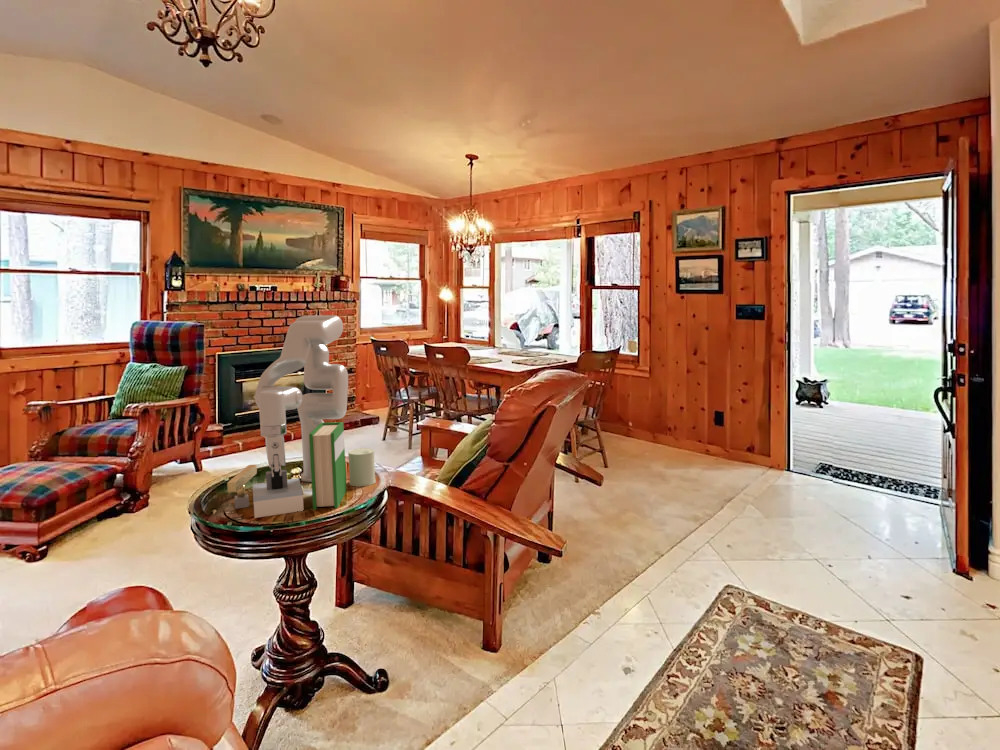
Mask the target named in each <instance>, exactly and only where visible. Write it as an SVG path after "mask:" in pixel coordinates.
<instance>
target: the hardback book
mask: <svg viewBox="0 0 1000 750" xmlns="http://www.w3.org/2000/svg"><path fill="white" fill-rule="evenodd" d="M344 426H345V425H344V422H343V421H337V422H324V423H320V424H319V425H318V426H317V427H316V428H315V429H314V430H313V431H312V432H311V433H310V434H309V441H310V460H311V479H312V482H311V492H312V493H311V495H312V510H315V511H316V510H317V509H318V508H319V507H334V509H339V506H340V504H341V502H342V500H343V499H344V497H345V495H346V492H347V474H346V473H347V472H346V469H347V468H346V453H345V452H346V451H345V430H344Z"/></svg>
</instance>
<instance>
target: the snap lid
mask: <svg viewBox="0 0 1000 750" xmlns="http://www.w3.org/2000/svg"><path fill="white" fill-rule="evenodd" d="M281 476H282V480H283V488H282V489H274V490H273V489H272V483H271V477H272V471H271V470H270V471H265V479H266V481H265V482H258V483H252V496H253V497H252V499H253V503H254V502H256V501H263V500H271V499H278V498H285V497H292V496H300V495H303V496H304V490H303V487H302V484H301V480H300V477H298V478H291V479H288V471H287V469H281Z"/></svg>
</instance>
